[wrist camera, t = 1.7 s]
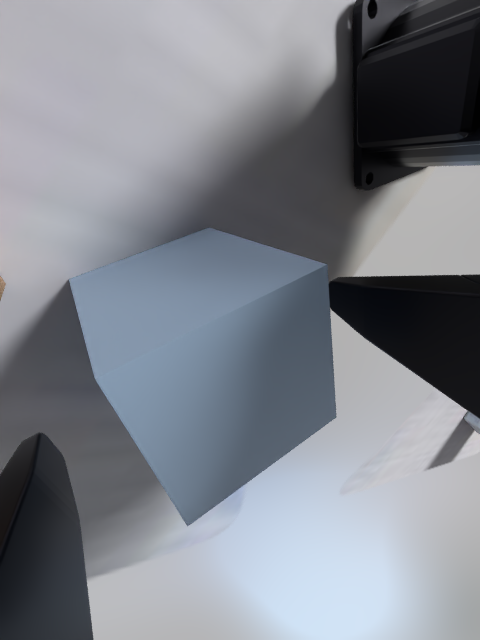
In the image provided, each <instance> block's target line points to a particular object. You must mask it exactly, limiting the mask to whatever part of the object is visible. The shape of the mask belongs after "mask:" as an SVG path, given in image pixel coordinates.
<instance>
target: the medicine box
mask: <svg viewBox="0 0 480 640" xmlns="http://www.w3.org/2000/svg"><path fill="white" fill-rule="evenodd" d="M464 419H465V420H466V421H467V423H468V424H469V425H470V426H471V427H472V428H473V429H474V430H475V431H476V432H477V433H479V434H480V419H479V418H478V417H476V416H475V415H473V414H472V413H470V412H469V411H468V412H467V413H466V415H465V417H464Z"/></svg>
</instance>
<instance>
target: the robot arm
mask: <svg viewBox="0 0 480 640" xmlns="http://www.w3.org/2000/svg"><path fill="white" fill-rule="evenodd" d="M367 9H368V12H367ZM353 77H354V183H355V187H356V189H358V190H362V191H368V190H372V189H374V188H376V187H379V186H381V185H384V184H386V183H389V182H391V181H394V180H396V179H399V178H401V177H404V176H406V175H409V174H411V173H413V172H416V171H418V170H421V169H423V168H426V167H428V166H465V165H480V0H356V2H355V5H354V10H353ZM328 284H329V301H330V308H331V309H332V311H334V312H335V313H336V314H337V315H338V316H339V317H341V318H342V319H343V320H344V321H345V322H346V323H348V324H349V325H350V326H351V327H352V328H353V329H354V330H356V331H357V332H358V333H360V335H362V336H363V337H364V338H365V339H367V340H368V341H369V342H371V343H372V344H374V345H375V346H377V347H378V348H380V349H381V350H382V351H384V352H385V353H387V354H388V355H389V356H391V357H392V358H394V359H395V360H397V361H398V362H399V363H401V364H402V365H404V366H405V367H406V368H408V369H409V370H411V371H412V372H414V373H415V374H416V375H418V376H420V377H421V378H422V379H423V380H425V381H426V382H428V383H429V384H431V385H432V386H433V387H435V388H436V389H438V390H439V391H441V392H442V393H443V394H445V395H446V396H448V397H449V398H451V399H452V400H453V401H455V402H456V403H458V404H459V405H460V406H462V407H463V408H465V409H466V410H468V411H469V412H470V413H472V414H473V415H475V416H476V417H478V418H479V419H480V275H461V276H460V275H433V276H431V275H429V276H376V277H375V276H371V277H338V278H336V279H334V280H332V281H330V282H329V283H328ZM0 640H93V632H92V623H91V614H90V606H89V597H88V588H87V579H86V571H85V562H84V553H83V544H82V536H81V527H80V520H79V515H78V511H77V506H76V502H75V499H74V495H73V491H72V487H71V483H70V479H69V475H68V471H67V467H66V463H65V460H64V457H63V455H62V454H61V452H60V451H59V450H58V449H57V447H56V446H55V445H54V444H53V443H52V442H51V440H50V439H49V438H48V437H47V436H46V435H45V434H43V433H37V434H35V435H34V436H32V437H30V438H28V439H26V440H24V441H23V442H21V444H20V445H19V447H18V448H17V450H16V451H15V453H14V454H13V456H12V457H11V459H10V460H9V462H8V463H7V465H6V467H5V468H4V470H3V471H2V473H1V474H0Z"/></svg>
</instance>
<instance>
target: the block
mask: <svg viewBox="0 0 480 640" xmlns="http://www.w3.org/2000/svg"><path fill="white" fill-rule="evenodd" d="M69 282H70V286H71V289H72V293H73V297H74V301H75V305H76V309H77V312H78V316H79V320H80V324H81V328H82V332H83V335H84V339H85V343H86V347H87V351H88V355H89V358H90V362H91V366H92V370H93V374H94V378H95V380H96V382H97V383H98V385H99V386H100V388H101V389H102V391H103V393H104V394H105V396H106V397H107V399H108V401H109V402H110V404H111V405H112V407H113V409H114V410H115V412H116V413H117V415H118V416H119V418H120V420H121V421H122V423H123V424H124V426H125V428H126V429H127V431H128V432H129V434H130V436H131V437H132V439H133V440H134V442H135V443H136V445H137V447H138V448H139V450H140V451H141V453H142V455H143V456H144V458H145V459H146V461H147V463H148V464H149V466H150V467H151V469H152V470H153V472H154V474H155V475H156V477H157V478H158V480H159V482H160V483H161V485H162V486H163V488H164V490H165V491H166V493H167V494H168V496H169V497H170V499H171V501H172V502H173V504H174V505H175V507H176V509H177V510H178V512H179V513H180V515H181V516H182V518H183V520H184V521H185V523H186V524H187V526H189V525H190V524H192V523H193V522H194V521H196V520H197V519H198V518H200V517H201V516H202V515H204V514H205V513H207V512H208V511H209V510H211V509H212V508H213V507H215V506H216V505H217V504H219V503H220V502H222V501H223V500H224V499H226V498H227V497H228V496H230V495H231V494H232V493H234V492H235V491H236V490H238V489H239V488H241V487H242V486H243V485H245V484H246V483H247V482H249V481H250V480H251V479H253V478H254V477H256V476H257V475H258V474H259V473H261V472H262V471H264V470H265V469H266V468H268V467H269V466H271V465H272V464H273V463H275V462H276V461H277V460H279V459H280V458H281V457H283V456H284V455H285V454H287V453H288V452H290V451H291V450H292V449H294V448H295V447H296V446H298V445H299V444H300V443H302V442H303V441H305V440H306V439H307V438H309V437H310V436H311V435H313V434H314V433H315V432H317V431H318V430H320V429H321V428H322V427H324V426H325V425H326V424H328V423H329V422H330V421H332V420H333V419H335V418H336V403H335V388H334V369H333V355H332V354H333V352H332V337H331V336H332V335H331V319H330V301H329V284H328V267H327V264H324V263H321V262H318V261H315V260H312V259H308V258H305V257H302V256H299V255H296V254H292V253H289V252H286V251H283V250H280V249H276V248H273V247H270V246H267V245H264V244H260V243H257V242H254V241H251V240H248V239H245V238H241V237H238V236H235V235H232V234H229V233H225V232H222V231H219V230H216V229H213V228H206V229H203V230H201V231H198V232H195V233H192V234H190V235H187V236H184V237H182V238H179V239H176V240H173V241H171V242H168V243H165V244H163V245H160V246H157V247H154V248H152V249H149V250H146V251H144V252H141V253H138V254H136V255H133V256H130V257H127V258H125V259H122V260H119V261H117V262H114V263H111V264H108V265H106V266H103V267H100V268H98V269H95V270H92V271H90V272H87V273H84V274H81V275H79V276H76V277H73V278H71V279H69Z"/></svg>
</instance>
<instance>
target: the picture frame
mask: <svg viewBox="0 0 480 640" xmlns="http://www.w3.org/2000/svg"><path fill="white" fill-rule="evenodd" d="M5 285H6V283H5V282H4V280H3V279H2V278H1V276H0V300H1V297H2V294H3V291H4V288H5Z"/></svg>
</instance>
